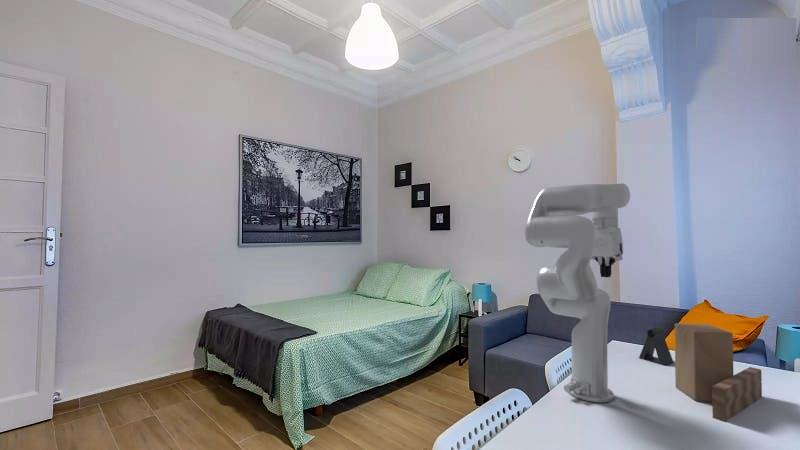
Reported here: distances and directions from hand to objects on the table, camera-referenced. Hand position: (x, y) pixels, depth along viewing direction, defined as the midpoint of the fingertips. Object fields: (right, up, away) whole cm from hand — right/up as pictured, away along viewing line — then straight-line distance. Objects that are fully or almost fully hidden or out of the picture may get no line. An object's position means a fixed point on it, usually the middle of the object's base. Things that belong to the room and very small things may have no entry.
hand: (605, 276), depth 125 cm
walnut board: (+23, -33, -24) cm, 47 cm away
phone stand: (+26, -34, +13) cm, 45 cm away
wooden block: (+19, -33, -17) cm, 42 cm away
